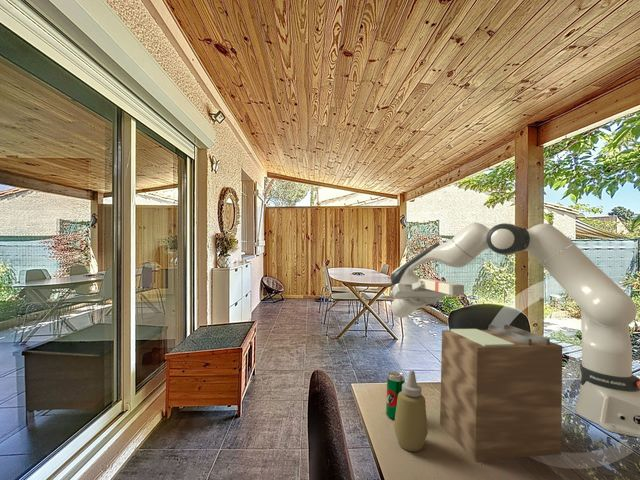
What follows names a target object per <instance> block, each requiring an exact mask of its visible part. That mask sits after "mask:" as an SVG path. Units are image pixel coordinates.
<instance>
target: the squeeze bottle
mask: <svg viewBox="0 0 640 480" xmlns="http://www.w3.org/2000/svg"><path fill="white" fill-rule="evenodd" d="M427 419H428V418H427V407H426V398H425V396H424V395H423V394H422V387H421V385H420V384H418V383H417V379H416V372H415V371H414V370H409V372H408V377H407V380H406V381H405V383H403V384H402V391H401V392H399V394H398V398H397V406H396V413H395V420H394V423H393V428H394V432H395V436H396V439H397V443H398V445H399V446H400V447H401V448H402V449H404V450H406V451H409V452H419V451H421V450H422V449H423V446H424V444H425V441H426V439H427V437H428V433H429V432H428V420H427Z"/></svg>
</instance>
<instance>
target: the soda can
mask: <svg viewBox="0 0 640 480" xmlns="http://www.w3.org/2000/svg"><path fill="white" fill-rule="evenodd" d="M405 382H406V379H405V376H404V374H403V373H401V372H399V371H390V372H389V373H388V375H387V377H386V400H385V401H386V405H385V406H386V408H385V414H386V416H387V417H388V418H389V419H390V420H394V421H395V413H396V406H397V398H398V394H399V392H401V391H402V384H403V383H405Z"/></svg>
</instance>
